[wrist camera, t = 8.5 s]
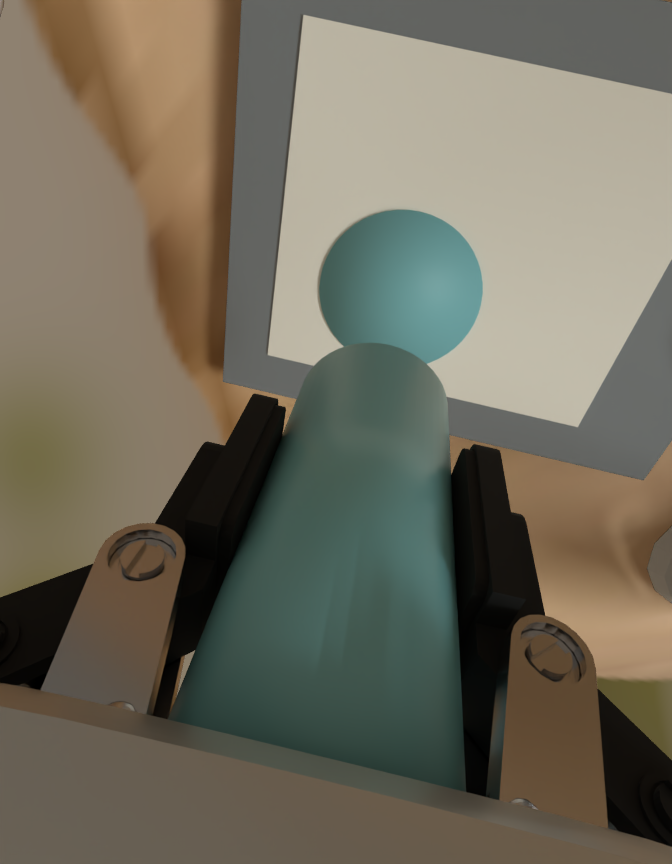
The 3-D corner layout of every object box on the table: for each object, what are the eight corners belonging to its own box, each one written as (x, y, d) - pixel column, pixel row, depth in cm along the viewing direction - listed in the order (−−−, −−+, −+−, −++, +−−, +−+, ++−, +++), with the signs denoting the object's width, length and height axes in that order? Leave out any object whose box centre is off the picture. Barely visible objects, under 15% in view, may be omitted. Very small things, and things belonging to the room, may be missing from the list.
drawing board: (915, 59, 15) (947, 59, 14) (636, 466, 25) (644, 483, 24) (255, -80, 16) (243, -89, 15) (229, 371, 25) (221, 383, 24)
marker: (473, 360, 13) (606, 1288, 3) (426, 485, 15) (419, 1220, 6) (307, 322, 13) (-75, 1112, 3) (287, 452, 15) (39, 1120, 6)
